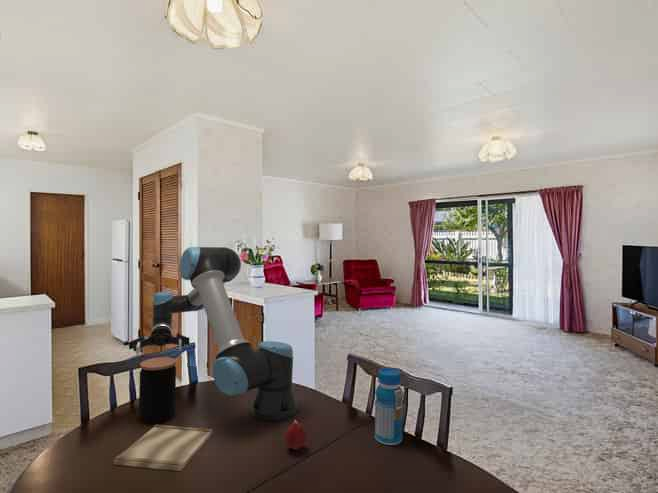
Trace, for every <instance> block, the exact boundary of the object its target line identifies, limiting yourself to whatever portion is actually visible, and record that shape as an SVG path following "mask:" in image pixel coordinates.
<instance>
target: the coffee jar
mask: <svg viewBox="0 0 658 493" xmlns="http://www.w3.org/2000/svg"><path fill="white" fill-rule="evenodd" d="M139 365H140V366H139V368H140V371H139V393H138V394H139V396H138V419H139V421H140V422H141V423H142V424H144V425H160V424H163V423H166V422H167V421H170V420H171V419H172V418H173V416H174V415H175V413H176V389H177V388H176V387H177V386H176V383H177V367H176V365H177V360H176V358H173V357H169V356H160V357H158V356H157V357H153V358H148V359H146V360H143V361H142V362H141V361H140V364H139Z"/></svg>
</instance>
